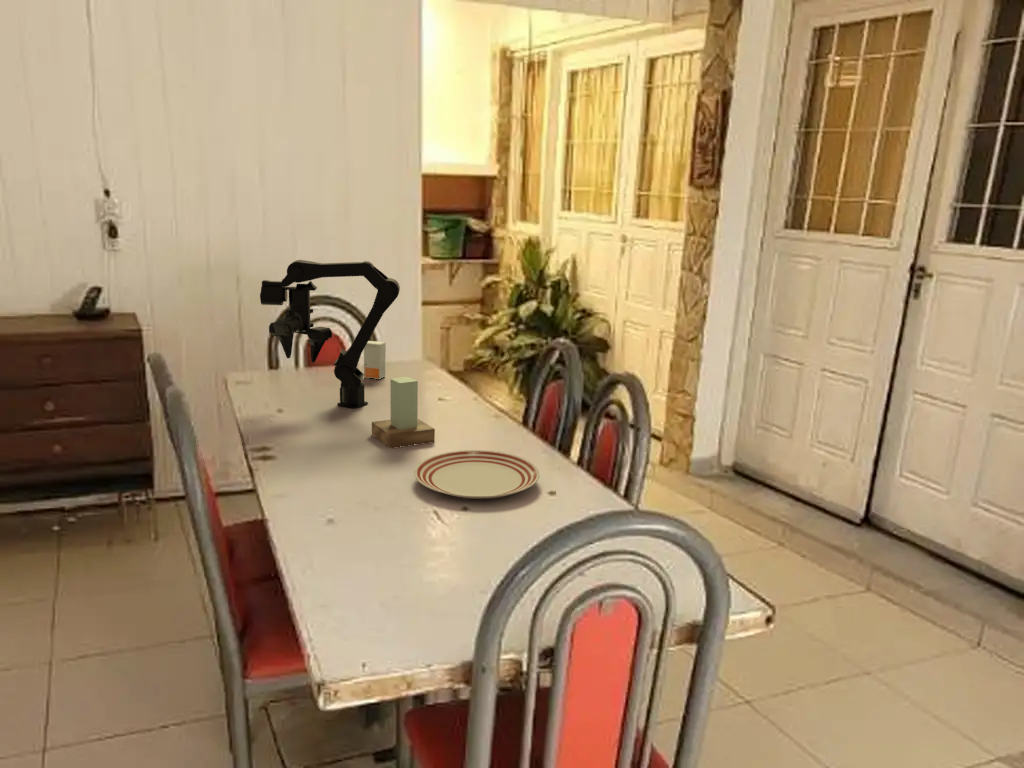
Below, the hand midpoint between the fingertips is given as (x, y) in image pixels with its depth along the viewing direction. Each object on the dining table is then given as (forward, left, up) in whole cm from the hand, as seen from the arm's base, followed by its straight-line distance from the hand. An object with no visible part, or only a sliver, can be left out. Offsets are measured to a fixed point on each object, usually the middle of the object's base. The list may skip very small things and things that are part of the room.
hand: (300, 360), depth 233 cm
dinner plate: (-74, +26, -14) cm, 80 cm away
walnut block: (-42, +9, -14) cm, 45 cm away
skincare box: (+3, -38, -13) cm, 40 cm away
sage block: (-43, +10, -10) cm, 45 cm away
